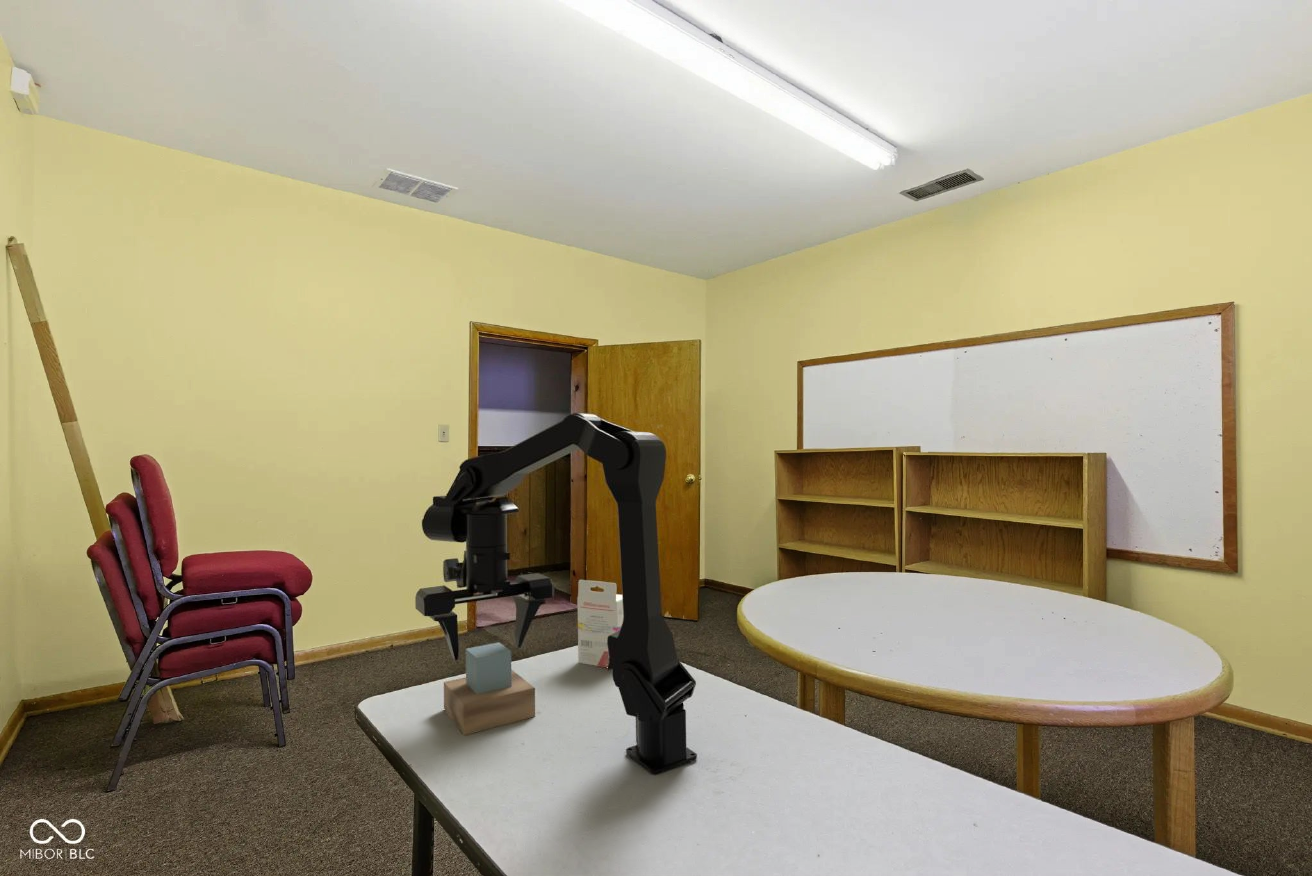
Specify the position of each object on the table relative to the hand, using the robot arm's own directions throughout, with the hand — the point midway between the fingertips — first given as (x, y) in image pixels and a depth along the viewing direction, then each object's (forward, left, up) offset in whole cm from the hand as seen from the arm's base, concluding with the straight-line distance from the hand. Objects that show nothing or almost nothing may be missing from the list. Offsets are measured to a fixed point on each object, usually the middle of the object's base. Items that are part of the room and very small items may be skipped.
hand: (487, 653), depth 90 cm
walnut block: (0, 0, -8) cm, 9 cm away
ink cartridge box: (+9, -24, -9) cm, 27 cm away
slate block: (0, 0, -4) cm, 5 cm away
